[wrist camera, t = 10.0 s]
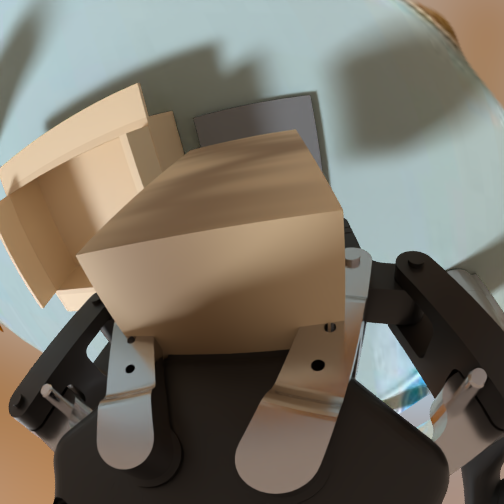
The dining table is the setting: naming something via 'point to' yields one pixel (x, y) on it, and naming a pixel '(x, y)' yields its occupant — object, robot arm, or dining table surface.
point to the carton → (80, 188)
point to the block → (225, 250)
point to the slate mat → (261, 122)
